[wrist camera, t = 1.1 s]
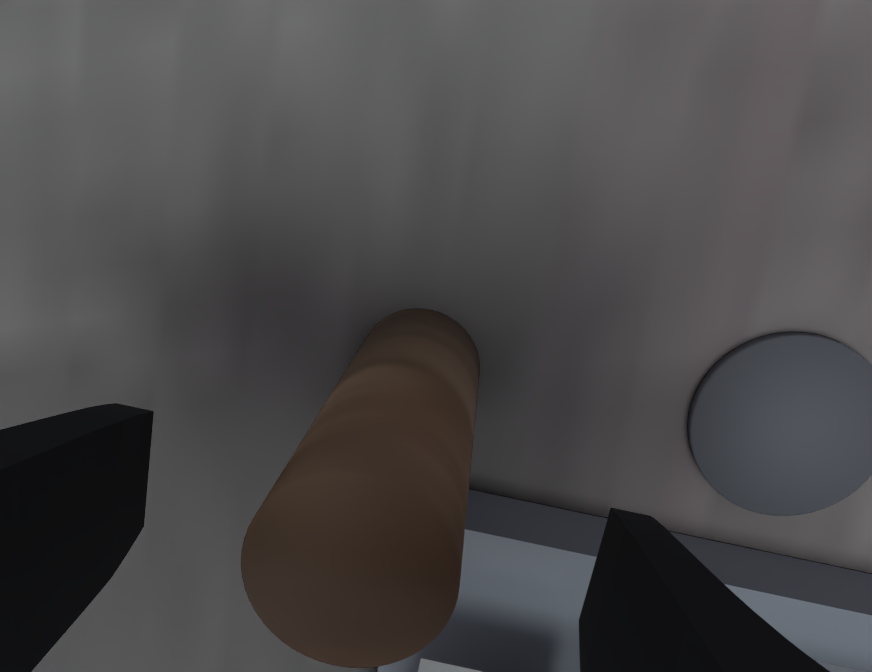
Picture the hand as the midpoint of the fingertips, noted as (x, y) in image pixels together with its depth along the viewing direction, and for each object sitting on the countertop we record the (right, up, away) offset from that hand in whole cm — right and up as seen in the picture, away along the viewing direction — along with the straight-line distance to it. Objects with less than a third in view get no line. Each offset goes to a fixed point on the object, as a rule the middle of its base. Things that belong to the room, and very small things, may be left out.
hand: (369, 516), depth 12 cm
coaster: (+9, +1, +7) cm, 12 cm away
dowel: (+1, +2, +7) cm, 8 cm away
